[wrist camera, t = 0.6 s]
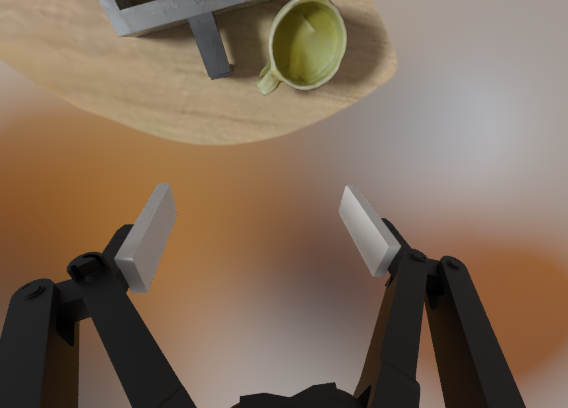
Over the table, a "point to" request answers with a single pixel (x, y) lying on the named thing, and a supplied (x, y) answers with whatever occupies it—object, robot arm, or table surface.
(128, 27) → the hollow metal rectangle ring
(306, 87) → the mug
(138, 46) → the table surface
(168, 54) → the table surface
